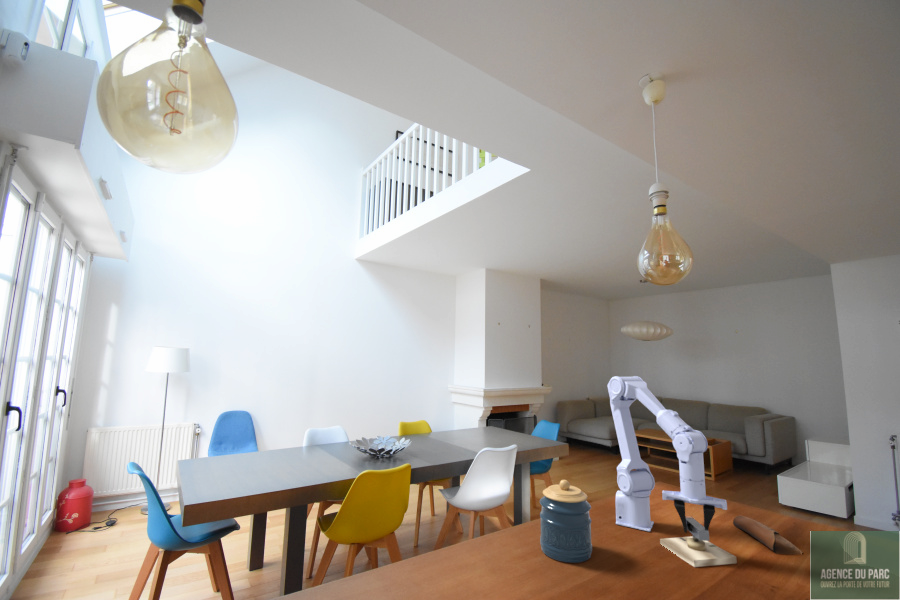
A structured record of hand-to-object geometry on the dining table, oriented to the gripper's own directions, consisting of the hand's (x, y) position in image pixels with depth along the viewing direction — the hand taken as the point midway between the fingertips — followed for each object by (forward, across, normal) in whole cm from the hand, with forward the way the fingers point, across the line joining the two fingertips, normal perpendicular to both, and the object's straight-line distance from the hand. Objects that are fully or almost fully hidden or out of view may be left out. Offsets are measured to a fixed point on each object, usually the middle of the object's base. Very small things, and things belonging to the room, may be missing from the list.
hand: (695, 533), depth 107 cm
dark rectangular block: (+2, 0, 0) cm, 2 cm away
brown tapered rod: (+6, +18, +20) cm, 28 cm away
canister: (+5, -30, -16) cm, 34 cm away
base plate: (+5, 0, 0) cm, 5 cm away
